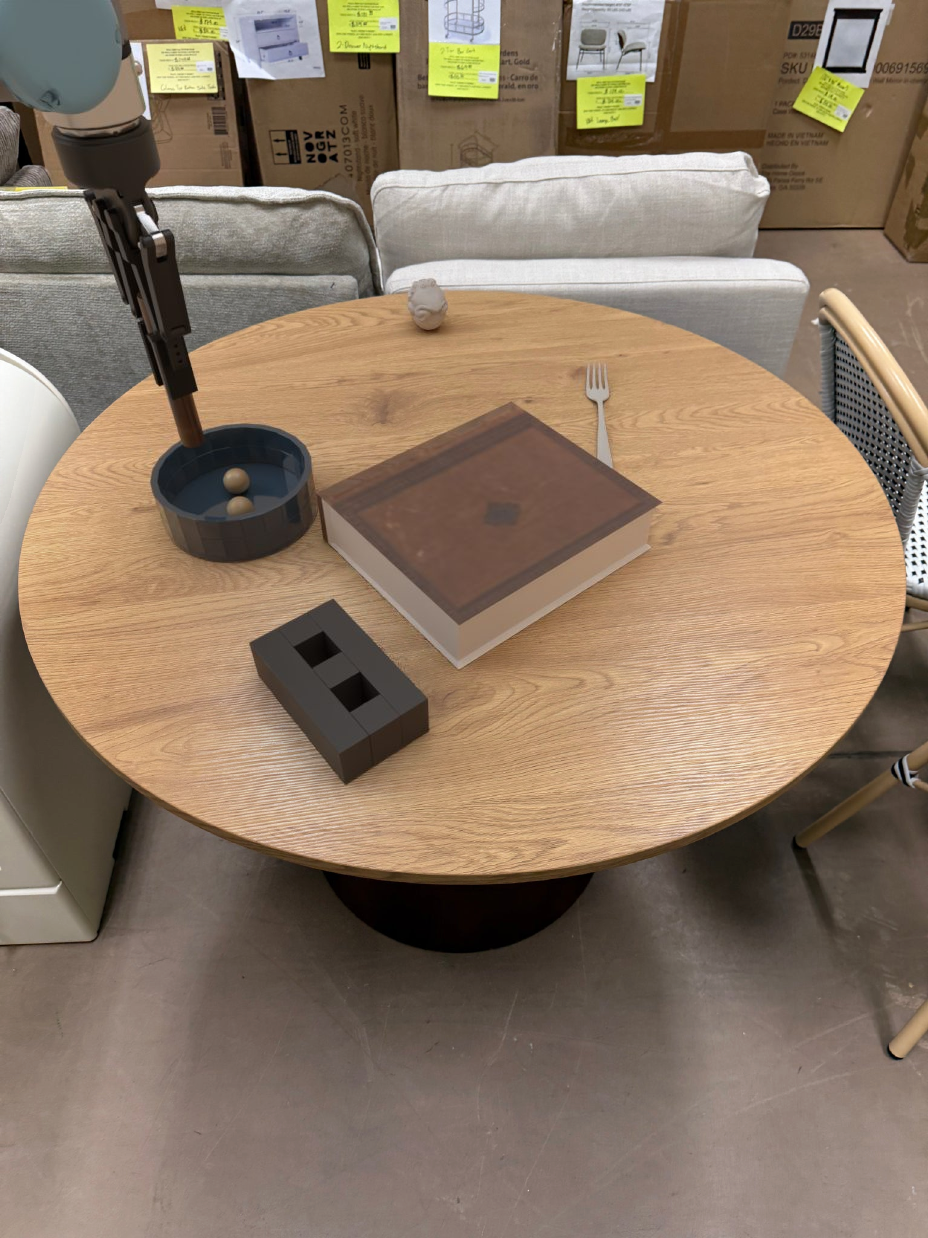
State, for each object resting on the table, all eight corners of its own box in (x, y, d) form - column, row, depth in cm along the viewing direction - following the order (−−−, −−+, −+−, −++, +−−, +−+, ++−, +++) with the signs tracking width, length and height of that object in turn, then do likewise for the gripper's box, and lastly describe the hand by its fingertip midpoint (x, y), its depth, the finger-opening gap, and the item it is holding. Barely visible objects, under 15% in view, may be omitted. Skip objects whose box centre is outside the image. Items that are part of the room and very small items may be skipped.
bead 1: (233, 502, 95) (228, 482, 93) (221, 489, 96) (216, 469, 94) (256, 492, 96) (251, 472, 94) (244, 479, 98) (239, 459, 95)
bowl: (208, 585, 87) (195, 544, 82) (139, 502, 96) (124, 460, 92) (346, 518, 94) (341, 477, 90) (271, 447, 103) (262, 406, 99)
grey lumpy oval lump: (436, 312, 127) (435, 268, 122) (456, 332, 123) (456, 287, 118) (400, 320, 125) (398, 276, 120) (419, 341, 121) (418, 296, 116)
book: (323, 538, 92) (315, 492, 87) (508, 445, 104) (511, 401, 99) (458, 669, 79) (458, 625, 75) (651, 547, 91) (663, 502, 87)
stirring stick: (187, 450, 84) (143, 302, 72) (177, 439, 86) (132, 292, 74) (209, 441, 85) (168, 294, 73) (198, 431, 87) (157, 285, 75)
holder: (345, 785, 71) (339, 754, 67) (258, 675, 79) (248, 642, 75) (429, 730, 75) (428, 698, 71) (338, 631, 83) (333, 597, 79)
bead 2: (237, 532, 91) (232, 511, 89) (225, 518, 93) (219, 497, 91) (261, 521, 93) (256, 500, 90) (248, 507, 94) (243, 487, 92)
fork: (592, 477, 100) (594, 466, 98) (584, 371, 116) (585, 360, 115) (618, 478, 100) (621, 467, 98) (606, 372, 116) (608, 361, 115)
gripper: (188, 137, 61) (248, 408, 78) (106, 86, 69) (177, 343, 86) (90, 159, 57) (176, 437, 75) (16, 104, 65) (109, 366, 83)
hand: (176, 386), depth 81 cm, fingers closed on stirring stick, 2 cm apart
